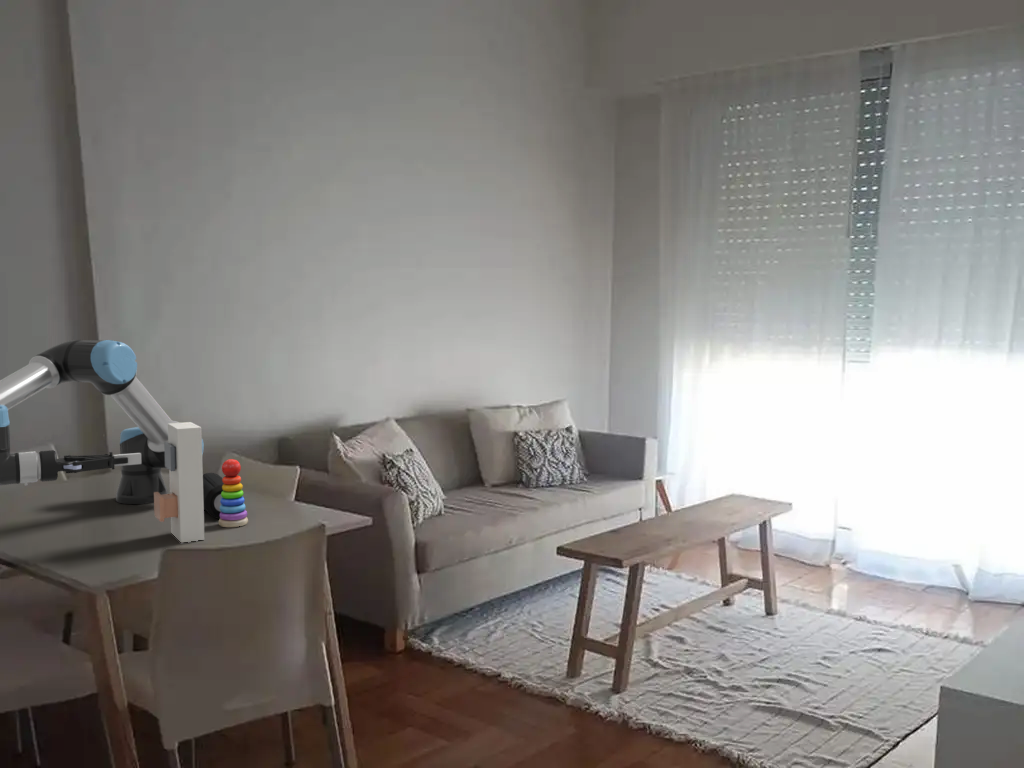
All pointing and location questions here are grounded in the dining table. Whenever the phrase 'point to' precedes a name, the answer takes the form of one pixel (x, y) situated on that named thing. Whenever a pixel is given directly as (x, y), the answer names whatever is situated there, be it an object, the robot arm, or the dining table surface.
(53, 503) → the dining table surface
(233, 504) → the stacking toy
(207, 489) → the portable speaker
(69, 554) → the dining table surface
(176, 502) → the lower button
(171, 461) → the upper button
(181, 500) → the button panel
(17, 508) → the dining table surface
